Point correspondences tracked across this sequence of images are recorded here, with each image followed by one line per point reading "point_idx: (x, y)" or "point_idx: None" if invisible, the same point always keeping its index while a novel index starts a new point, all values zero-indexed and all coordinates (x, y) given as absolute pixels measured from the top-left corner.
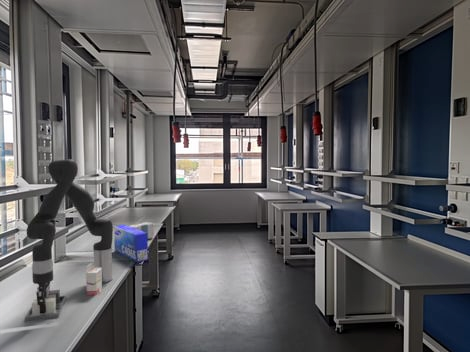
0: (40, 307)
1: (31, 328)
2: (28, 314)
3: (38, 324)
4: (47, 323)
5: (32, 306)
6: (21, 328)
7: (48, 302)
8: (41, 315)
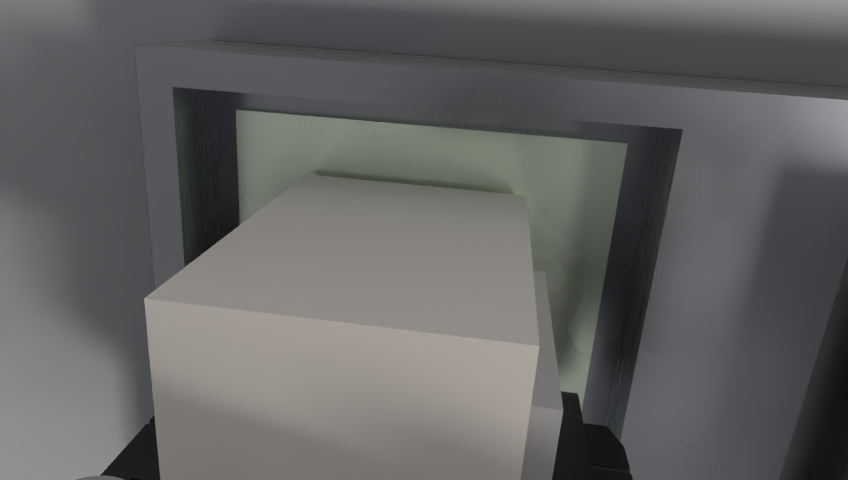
0: (119, 459)
1: (14, 180)
2: (334, 98)
3: (144, 269)
4: (147, 390)
5: (203, 271)
6: (45, 7)
7: None
8: None
